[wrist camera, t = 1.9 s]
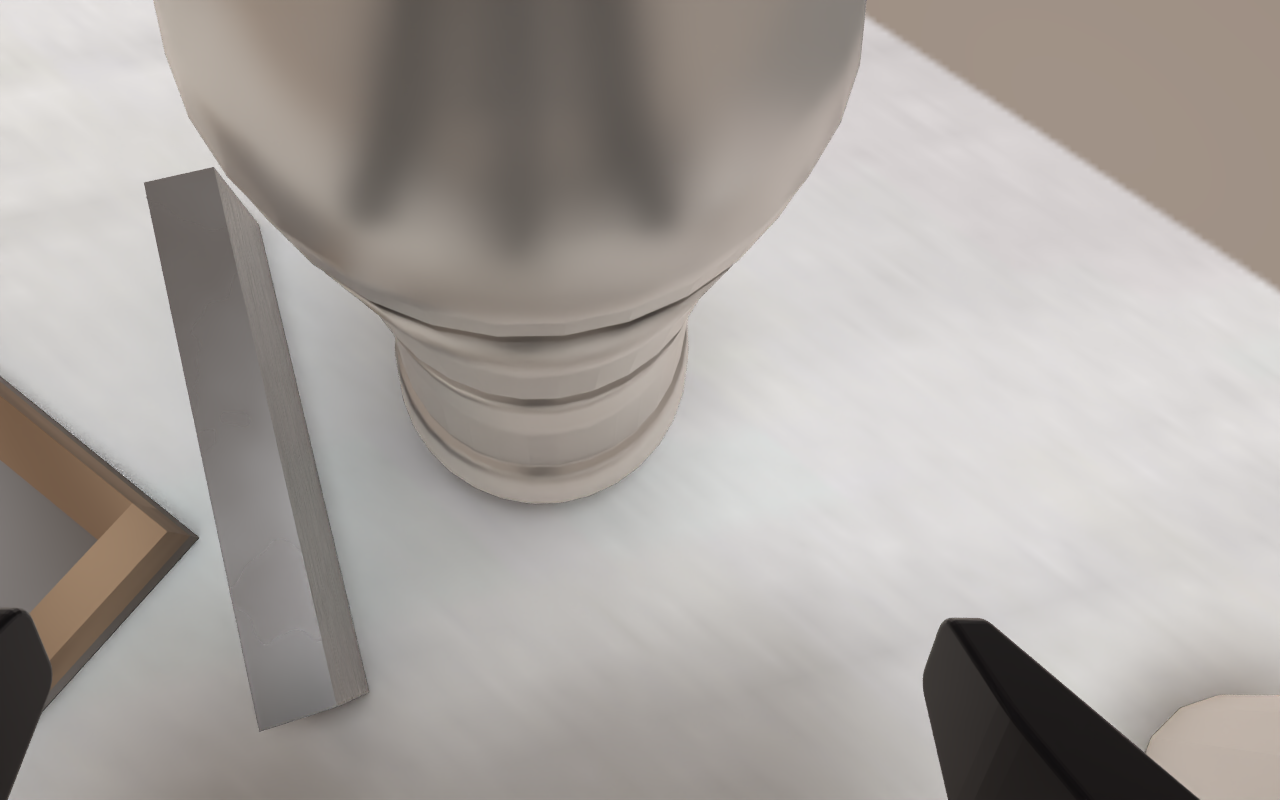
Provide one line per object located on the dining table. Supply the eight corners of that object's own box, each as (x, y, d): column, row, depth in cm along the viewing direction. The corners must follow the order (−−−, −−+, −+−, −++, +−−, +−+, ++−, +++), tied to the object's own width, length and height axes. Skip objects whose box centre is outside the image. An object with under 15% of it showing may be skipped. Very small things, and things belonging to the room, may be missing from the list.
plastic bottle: (401, 507, 21) (-1410, -633, 2) (432, 246, 23) (-313, -1880, 3) (665, 524, 22) (1624, -208, 2) (678, 268, 23) (1296, -1475, 4)
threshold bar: (369, 692, 20) (336, 707, 17) (303, 713, 20) (259, 732, 17) (258, 224, 22) (213, 166, 19) (198, 238, 22) (144, 182, 19)
